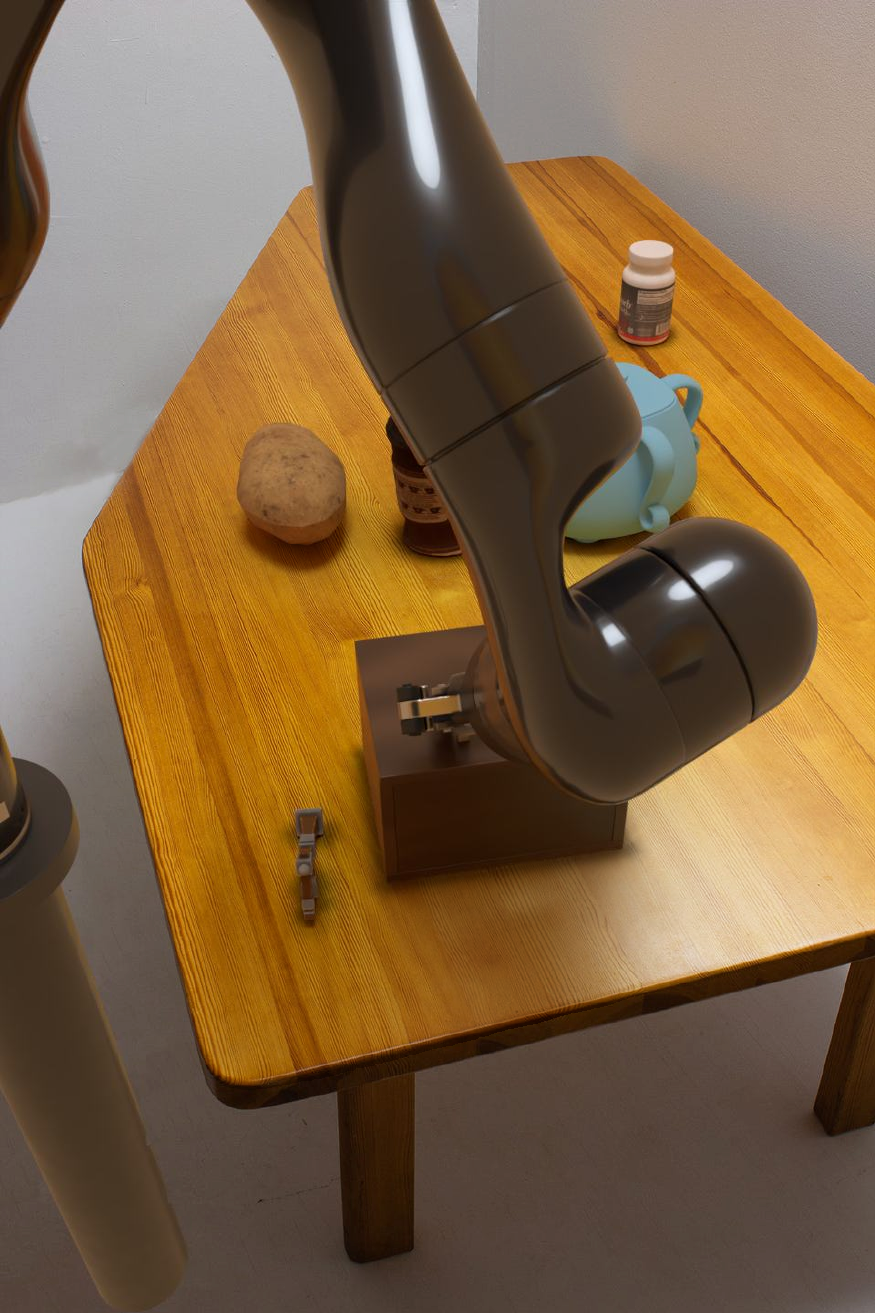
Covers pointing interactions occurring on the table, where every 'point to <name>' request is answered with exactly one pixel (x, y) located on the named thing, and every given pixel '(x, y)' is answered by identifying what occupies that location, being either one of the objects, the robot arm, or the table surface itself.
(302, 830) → the wooden post with brackets
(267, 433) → the potato
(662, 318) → the pill bottle
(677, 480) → the decorative pot
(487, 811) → the wooden storage box
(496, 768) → the lid
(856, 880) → the table surface
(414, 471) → the coffee cup
